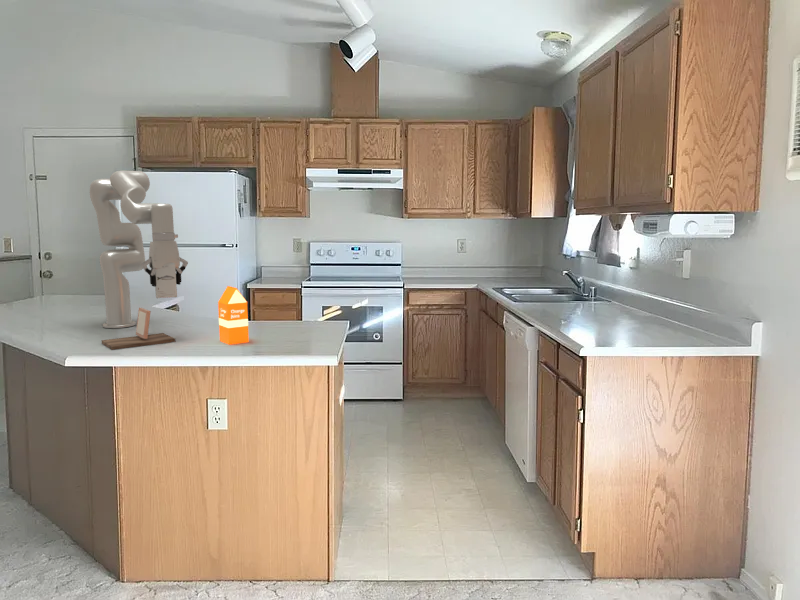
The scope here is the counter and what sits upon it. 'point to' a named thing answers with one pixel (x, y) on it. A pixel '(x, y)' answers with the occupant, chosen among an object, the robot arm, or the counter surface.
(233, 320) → the orange juice
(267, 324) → the counter surface
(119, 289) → the robot arm
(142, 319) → the tile
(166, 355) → the counter surface
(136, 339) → the board
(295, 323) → the counter surface
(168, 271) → the supplement box
